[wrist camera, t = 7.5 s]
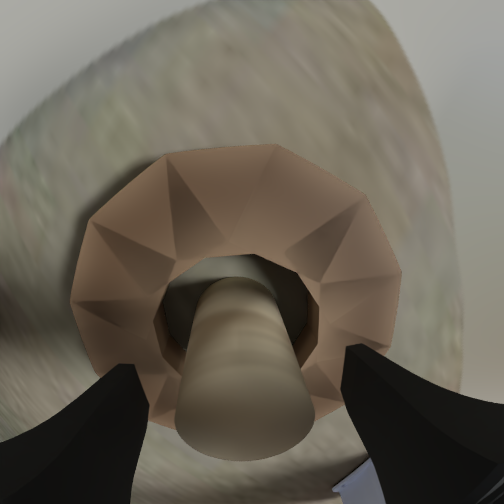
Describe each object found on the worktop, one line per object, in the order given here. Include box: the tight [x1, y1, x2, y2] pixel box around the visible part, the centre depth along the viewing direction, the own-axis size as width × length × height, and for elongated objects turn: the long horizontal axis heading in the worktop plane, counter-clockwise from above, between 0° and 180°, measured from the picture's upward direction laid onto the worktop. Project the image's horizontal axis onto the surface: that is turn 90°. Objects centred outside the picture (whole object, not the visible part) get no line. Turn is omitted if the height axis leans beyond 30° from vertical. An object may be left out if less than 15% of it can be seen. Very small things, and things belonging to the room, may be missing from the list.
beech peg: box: [174, 277, 315, 461], centre depth 10 cm, size 4×4×7 cm
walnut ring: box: [70, 144, 402, 430], centre depth 13 cm, size 15×15×2 cm
